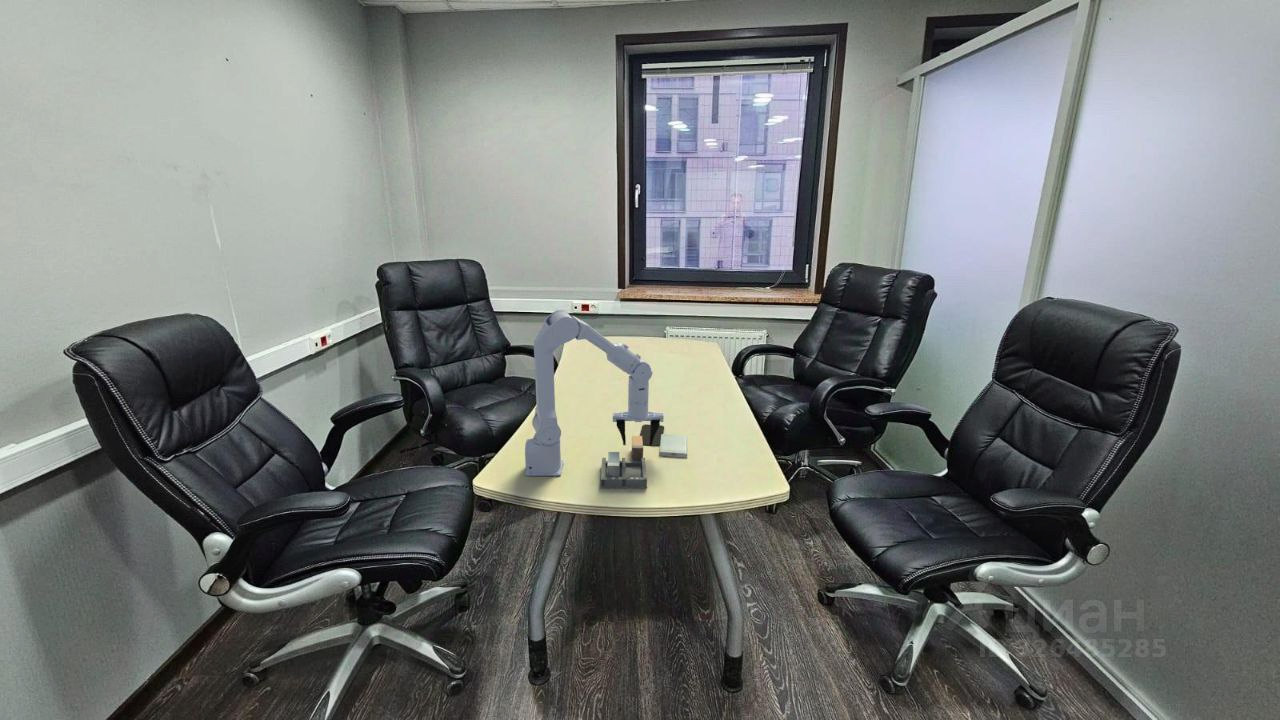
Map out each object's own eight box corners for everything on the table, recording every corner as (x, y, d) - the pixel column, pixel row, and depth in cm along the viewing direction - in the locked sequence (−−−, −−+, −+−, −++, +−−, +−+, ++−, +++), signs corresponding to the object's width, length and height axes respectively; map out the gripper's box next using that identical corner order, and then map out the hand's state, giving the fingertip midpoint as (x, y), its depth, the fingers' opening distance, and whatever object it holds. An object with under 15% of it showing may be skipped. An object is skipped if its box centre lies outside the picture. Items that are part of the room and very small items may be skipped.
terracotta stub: (632, 462, 149) (632, 447, 148) (631, 449, 157) (631, 435, 156) (642, 462, 150) (643, 447, 148) (641, 449, 157) (642, 435, 156)
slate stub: (607, 481, 138) (607, 465, 137) (608, 466, 146) (608, 451, 144) (619, 481, 138) (619, 465, 137) (619, 466, 146) (619, 451, 144)
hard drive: (661, 433, 165) (659, 451, 153) (687, 435, 165) (687, 453, 153) (661, 438, 166) (659, 456, 154) (686, 440, 165) (687, 458, 153)
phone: (636, 444, 160) (642, 424, 174) (636, 446, 160) (642, 426, 175) (661, 445, 159) (664, 425, 173) (660, 448, 160) (664, 427, 174)
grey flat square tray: (600, 488, 136) (600, 479, 135) (602, 465, 147) (602, 457, 146) (646, 488, 136) (647, 479, 135) (644, 465, 148) (645, 457, 147)
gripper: (612, 405, 144) (612, 449, 148) (664, 405, 145) (663, 449, 149) (612, 396, 151) (612, 439, 155) (662, 396, 151) (661, 439, 155)
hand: (637, 443), depth 152 cm, fingers open, 7 cm apart
